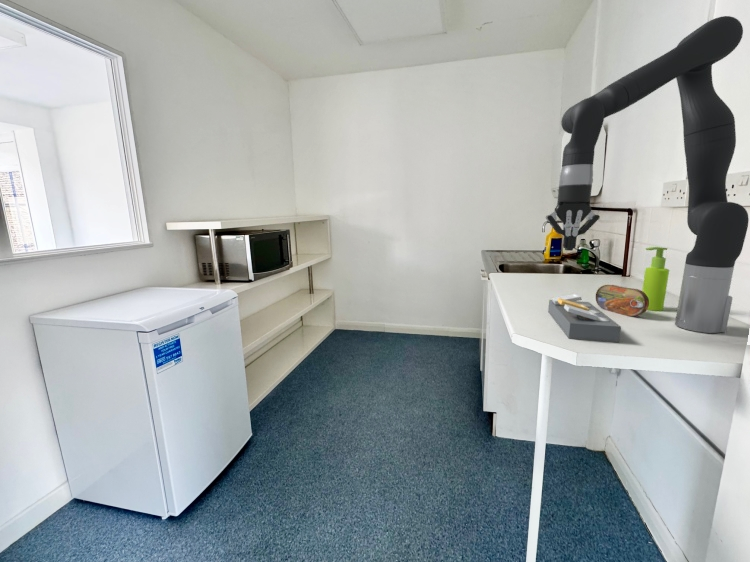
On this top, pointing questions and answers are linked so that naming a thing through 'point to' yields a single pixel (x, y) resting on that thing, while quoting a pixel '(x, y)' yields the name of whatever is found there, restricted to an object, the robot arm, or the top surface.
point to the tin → (622, 300)
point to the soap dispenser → (656, 280)
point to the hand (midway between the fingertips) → (568, 250)
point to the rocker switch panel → (585, 324)
